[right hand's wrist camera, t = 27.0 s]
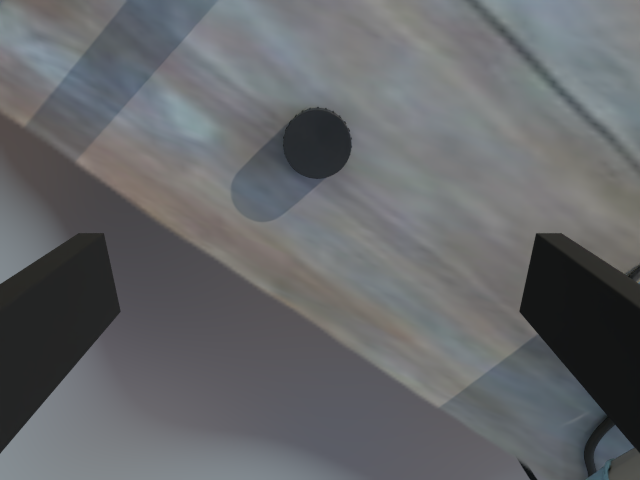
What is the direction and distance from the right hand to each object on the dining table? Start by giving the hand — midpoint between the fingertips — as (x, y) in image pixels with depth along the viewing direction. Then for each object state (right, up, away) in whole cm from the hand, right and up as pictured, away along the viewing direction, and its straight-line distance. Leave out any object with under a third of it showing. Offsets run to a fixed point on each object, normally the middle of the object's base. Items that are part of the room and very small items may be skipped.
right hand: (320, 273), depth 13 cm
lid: (0, +9, +23) cm, 25 cm away
